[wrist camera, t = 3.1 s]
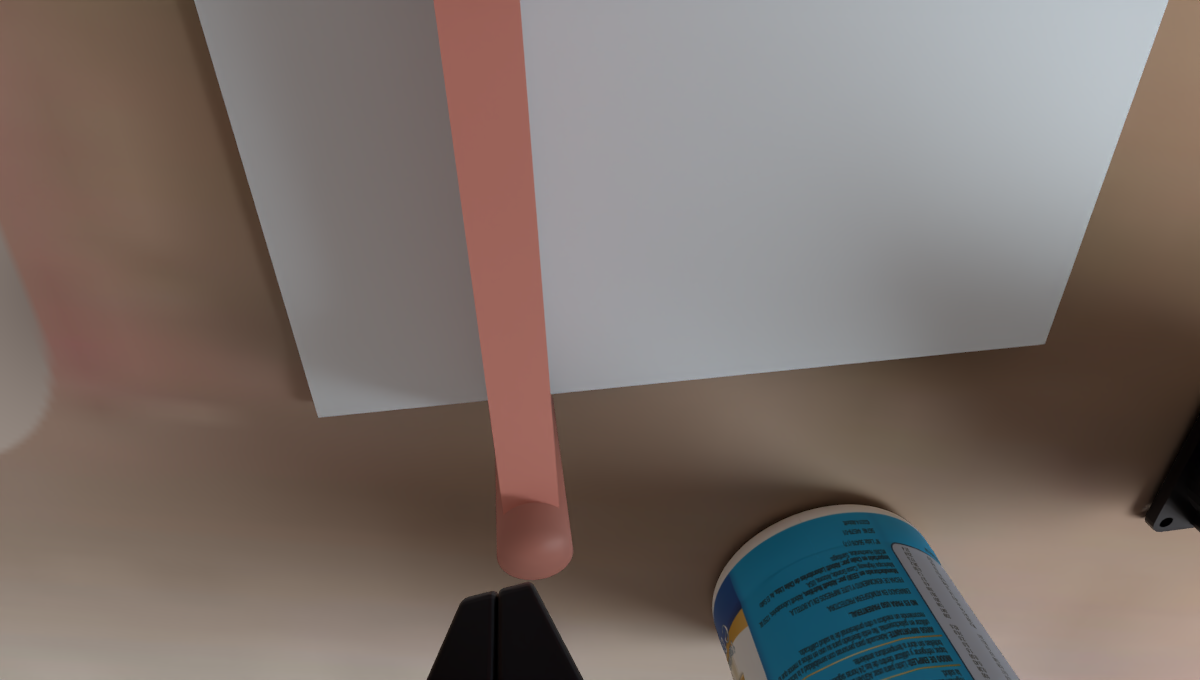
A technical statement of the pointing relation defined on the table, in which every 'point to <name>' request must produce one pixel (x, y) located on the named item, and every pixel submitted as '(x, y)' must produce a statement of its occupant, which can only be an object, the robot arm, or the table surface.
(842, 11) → the card
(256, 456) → the table surface
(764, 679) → the beverage bottle
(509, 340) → the panel
